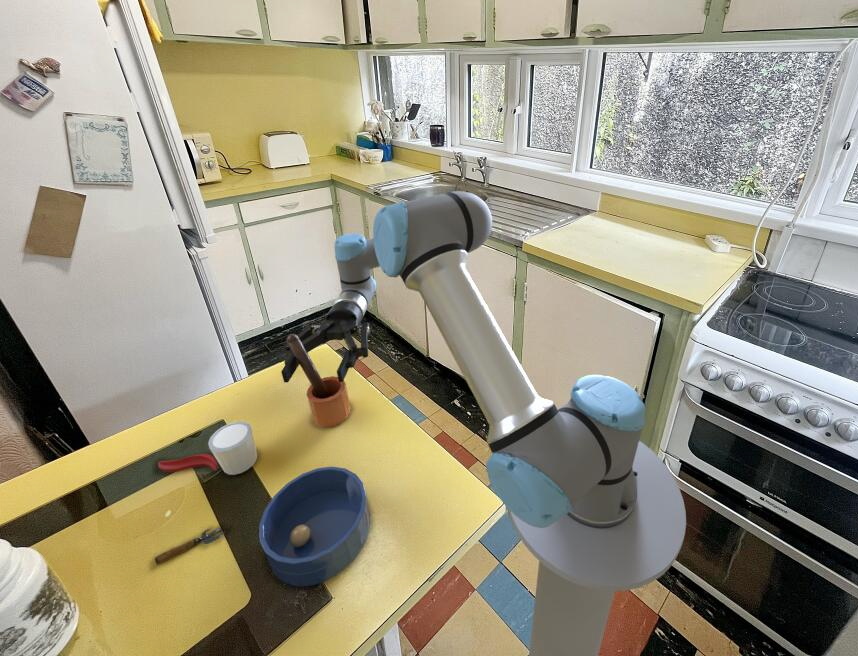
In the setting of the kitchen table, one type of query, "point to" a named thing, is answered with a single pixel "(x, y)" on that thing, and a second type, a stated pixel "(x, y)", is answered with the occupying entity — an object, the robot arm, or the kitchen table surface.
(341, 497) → the bowl
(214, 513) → the kitchen table surface
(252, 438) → the white cup
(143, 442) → the kitchen table surface
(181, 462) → the cayenne pepper
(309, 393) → the holder
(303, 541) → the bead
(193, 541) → the can opener
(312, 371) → the stirring stick
